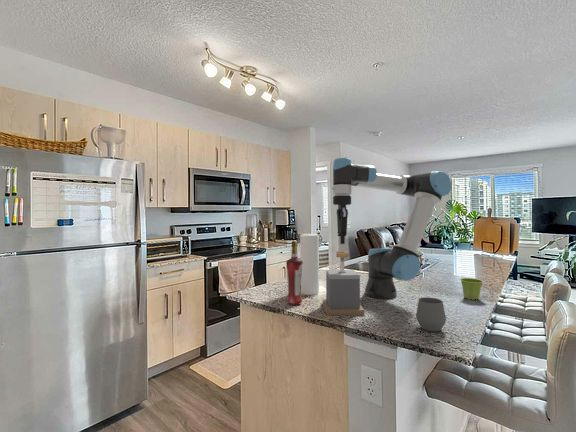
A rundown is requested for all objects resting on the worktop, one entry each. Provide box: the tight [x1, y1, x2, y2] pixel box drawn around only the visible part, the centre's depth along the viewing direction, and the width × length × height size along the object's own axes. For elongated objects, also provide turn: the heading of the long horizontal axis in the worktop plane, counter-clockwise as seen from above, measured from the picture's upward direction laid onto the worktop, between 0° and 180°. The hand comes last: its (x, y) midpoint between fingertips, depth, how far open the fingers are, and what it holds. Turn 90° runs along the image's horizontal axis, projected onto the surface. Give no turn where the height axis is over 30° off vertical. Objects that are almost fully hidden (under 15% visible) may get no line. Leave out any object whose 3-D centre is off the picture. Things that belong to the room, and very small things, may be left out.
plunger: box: [335, 250, 349, 273], centre depth 128 cm, size 9×9×16 cm
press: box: [322, 269, 365, 316], centre depth 128 cm, size 15×15×16 cm
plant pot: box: [459, 277, 484, 301], centre depth 144 cm, size 9×9×9 cm
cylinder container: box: [299, 233, 320, 296], centre depth 155 cm, size 9×9×30 cm
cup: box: [415, 296, 447, 333], centre depth 106 cm, size 10×9×10 cm
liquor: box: [286, 240, 303, 306], centre depth 136 cm, size 7×7×28 cm
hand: (342, 251), depth 128 cm, fingers closed
